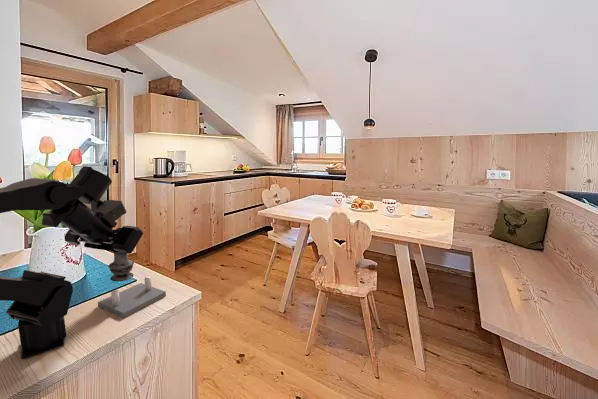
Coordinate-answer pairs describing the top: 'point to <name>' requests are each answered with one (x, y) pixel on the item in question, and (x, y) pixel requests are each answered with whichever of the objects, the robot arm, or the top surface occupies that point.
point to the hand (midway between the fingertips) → (125, 251)
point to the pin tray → (131, 298)
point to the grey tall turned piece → (121, 267)
